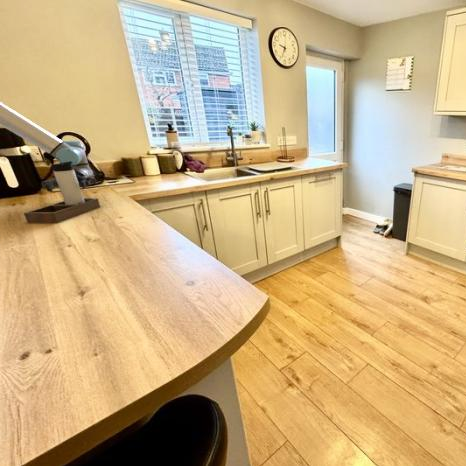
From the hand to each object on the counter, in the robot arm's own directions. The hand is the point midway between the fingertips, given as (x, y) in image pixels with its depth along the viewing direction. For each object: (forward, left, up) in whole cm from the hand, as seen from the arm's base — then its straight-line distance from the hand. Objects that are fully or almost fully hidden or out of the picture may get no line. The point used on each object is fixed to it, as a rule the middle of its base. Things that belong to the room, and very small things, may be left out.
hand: (65, 186), depth 117 cm
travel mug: (-2, +4, -11) cm, 12 cm away
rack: (-2, -1, -12) cm, 12 cm away
